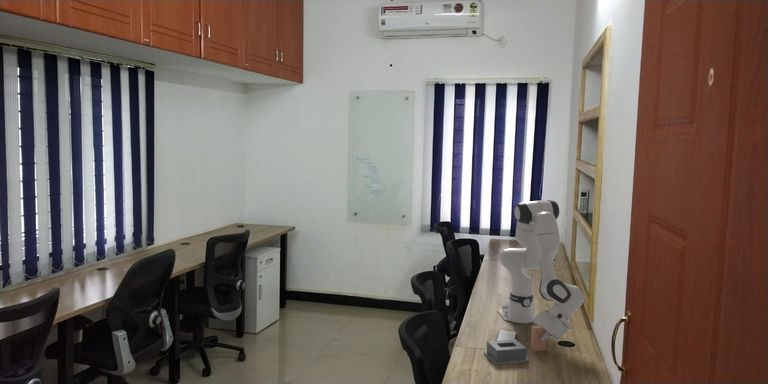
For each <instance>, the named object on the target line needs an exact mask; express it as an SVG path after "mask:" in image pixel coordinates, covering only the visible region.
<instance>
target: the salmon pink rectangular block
mask: <svg viewBox="0 0 768 384" xmlns="http://www.w3.org/2000/svg"><path fill="white" fill-rule="evenodd" d="M530 331H531V332H530V333H531V334H530V351H531V350H532V352H543V351H546V347H547V339H545V340H544V341H541V340H540V339H539V338H540V337H541V335H542V336H543V335H545V333H546V332H547V331H546V330H544V327H543V326H541V325H539V326H536V325H531V330H530Z"/></svg>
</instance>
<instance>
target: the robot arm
mask: <svg viewBox="0 0 768 384" xmlns="http://www.w3.org/2000/svg"><path fill="white" fill-rule="evenodd" d="M559 216H560V206H559V204H558V203H557V202H556V201H555V200H551V199H550V200H549V199H547V200H540V199H539V200H537V199H536V200H533V201H532V200H531V201H526V202H525V201H521V202H519V203H517V204H516V205H515V207H514V217H515V220H516V227H515V239H516V240H515V241H516V242H517V243H519V244H520V245H522V246H523V247H522V248H521V247H507V248H503V249H502V250H501V251H500V252H499V255H498V260H499V263H500V265H501V266H502V267H503V268H505V270H506V271H507V273H508V274H509V276H510V280H511V281H510V282H511V289H510V290H511V291H509V297H508V298H507V300H505V301H504V302H503V303H502V306H501V309H498V311H497V312H498V314H499V315H500V316H501V318H502V319H503V320H504V321H507V322H512V323H518V324H534V326H539V325H541V326H543V327H544V330H546V331H547V332H546V333H545V335H543V336H542V335H541V337H540V338H539V339H540V340H541V341H544V340H545V339H546V340H547V339H549V338H550V337H552V338H554V339H555V340H560V339H561V338H562V337H564V335H565V334H566V333H567V332H568V330H569V329H571V328H572V327H573V326H572V323H571V322H570V320H569V319H570V318H571V316H572V314H574V313H575V312H577V311H578V310H579V308H580V307H581V306H582V305H583V304H584V302H585V300H586V296H585V293H584V292H583V290H582V289H581V288H580V287H579V286H577V285H574V284H573V285H572V284H568V283H566V282H564V281H562V280H560V279H556V272H555V265H554V261H555V258H556V257H555V256H556V254H557V253H558V251H559V249H560V244H561V237H560V236H561V235H560V229H559V226H558V222H557V219H558V217H559ZM523 270H540V277H541V280H540V284H539V288H538V289H539V290H538V291H539V295H540V297H541V298H543V300H545V301H548V302H554V304H553V305H552V306H551V307H550V308H549V309H545V310H542V311H539V313H538V314H535V311H536V310H535V309H536V307H535V306H536V305H535V303H534V294H533V292H534V291H533V288H534V281H533V279H532V278H531V277H530V276H529V275H527V274H525V273H523Z"/></svg>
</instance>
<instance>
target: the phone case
mask: <svg viewBox="0 0 768 384" xmlns="http://www.w3.org/2000/svg"><path fill="white" fill-rule="evenodd" d="M517 336H518V332H517V331H514V330H507V329H499V330H498V333H497V337H496V340H495V341H500V340H514V339H516V340H517Z"/></svg>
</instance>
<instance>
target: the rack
mask: <svg viewBox="0 0 768 384" xmlns="http://www.w3.org/2000/svg"><path fill="white" fill-rule="evenodd" d="M527 353H528V348H527V347H526V346H524V345H523V344H522V343H521V342H520V341H519V340H517V338H516V339H514V340H500V341H496V340H488V341H486V351H485V350H484V351H483V355H484V356H486V357H487V358H488V359H489V360H490V361H491V363H492V364H493V365H495V366H496V365H497V366H498V365H499V366H500V365H509V364H511V365H512V364H523V363H529V362H530V359H529V358H528V357H527V355H528V354H527Z"/></svg>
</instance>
